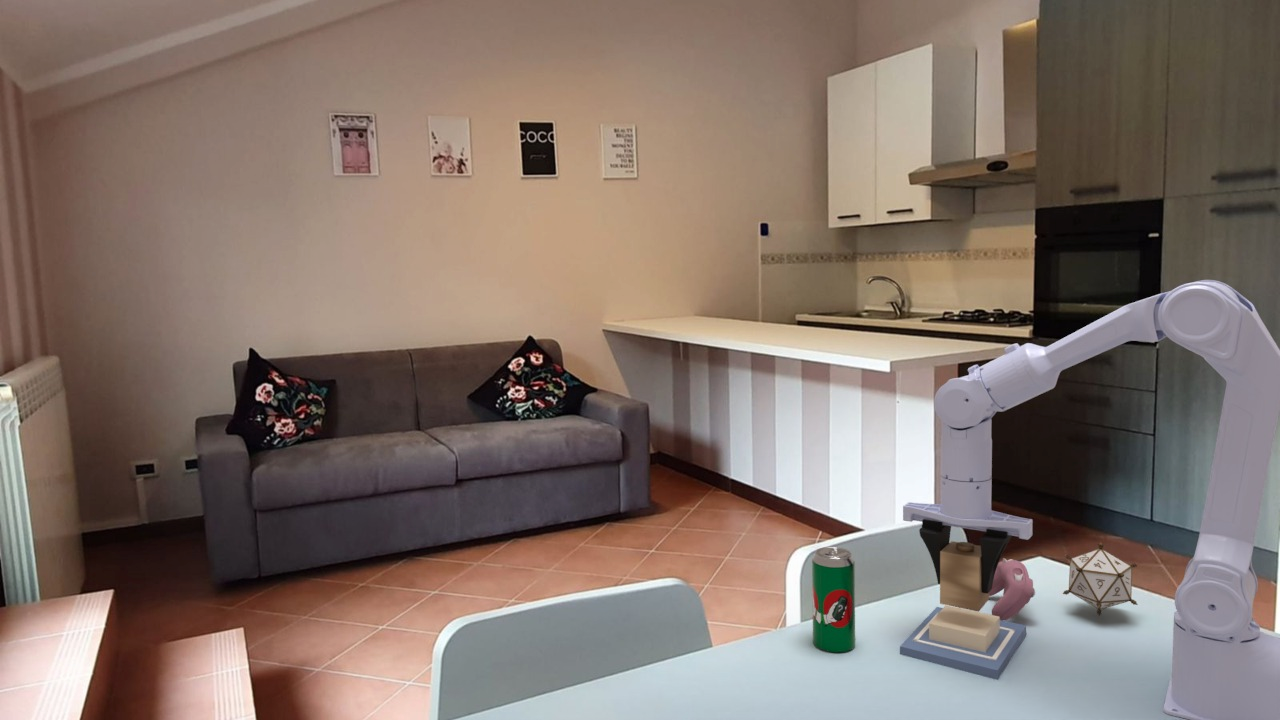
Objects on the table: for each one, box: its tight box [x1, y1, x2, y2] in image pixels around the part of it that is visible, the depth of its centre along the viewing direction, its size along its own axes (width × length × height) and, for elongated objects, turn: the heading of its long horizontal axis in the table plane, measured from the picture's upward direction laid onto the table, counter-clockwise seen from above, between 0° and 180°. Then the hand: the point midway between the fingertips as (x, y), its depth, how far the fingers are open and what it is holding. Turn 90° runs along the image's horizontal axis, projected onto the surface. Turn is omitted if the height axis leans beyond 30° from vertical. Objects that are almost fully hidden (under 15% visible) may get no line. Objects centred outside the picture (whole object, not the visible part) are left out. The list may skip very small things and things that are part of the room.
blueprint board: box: [899, 605, 1027, 680], centre depth 101 cm, size 11×14×3 cm
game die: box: [1062, 541, 1139, 617], centre depth 108 cm, size 9×8×10 cm
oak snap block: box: [939, 540, 990, 612], centre depth 100 cm, size 4×4×7 cm
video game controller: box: [989, 557, 1036, 621], centre depth 110 cm, size 10×5×7 cm, turn 168°
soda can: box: [811, 546, 856, 654], centre depth 101 cm, size 5×5×12 cm
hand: (964, 586), depth 101 cm, fingers closed on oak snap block, 4 cm apart
